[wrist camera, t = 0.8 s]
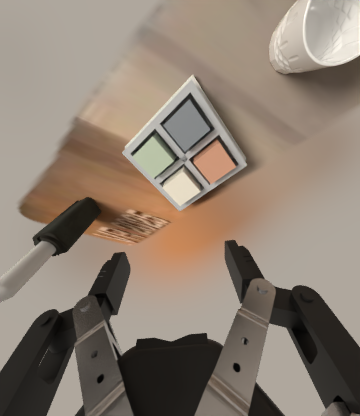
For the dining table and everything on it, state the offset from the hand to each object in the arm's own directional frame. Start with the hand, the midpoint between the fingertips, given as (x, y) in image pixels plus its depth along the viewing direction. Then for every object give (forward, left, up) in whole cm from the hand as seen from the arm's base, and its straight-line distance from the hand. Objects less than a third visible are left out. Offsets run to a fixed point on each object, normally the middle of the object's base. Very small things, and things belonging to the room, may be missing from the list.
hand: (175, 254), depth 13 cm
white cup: (-20, +10, -24) cm, 33 cm away
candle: (+17, -21, -24) cm, 36 cm away
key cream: (+3, 0, -20) cm, 20 cm away
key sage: (-2, -6, -20) cm, 21 cm away
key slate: (-7, -2, -20) cm, 22 cm away
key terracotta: (-3, +4, -20) cm, 21 cm away
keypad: (-2, -1, -24) cm, 24 cm away
